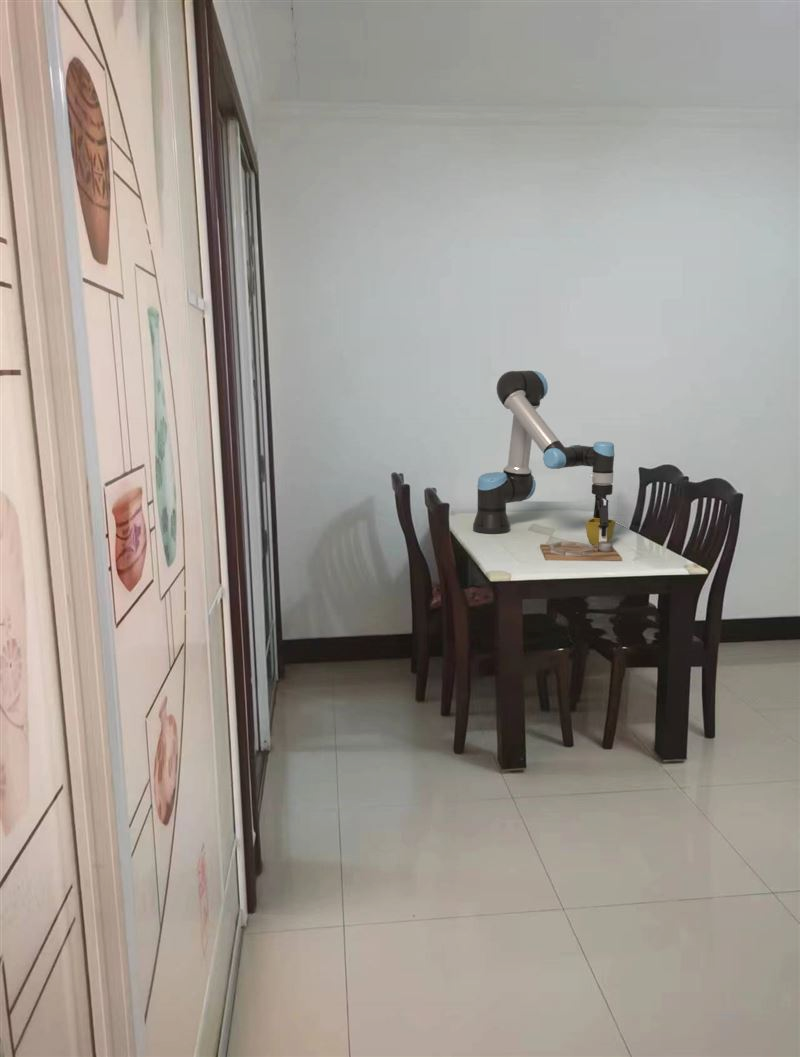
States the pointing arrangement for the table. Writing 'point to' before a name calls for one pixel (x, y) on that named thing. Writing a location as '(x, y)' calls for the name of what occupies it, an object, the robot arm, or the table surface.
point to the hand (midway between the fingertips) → (599, 540)
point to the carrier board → (580, 551)
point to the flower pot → (593, 530)
